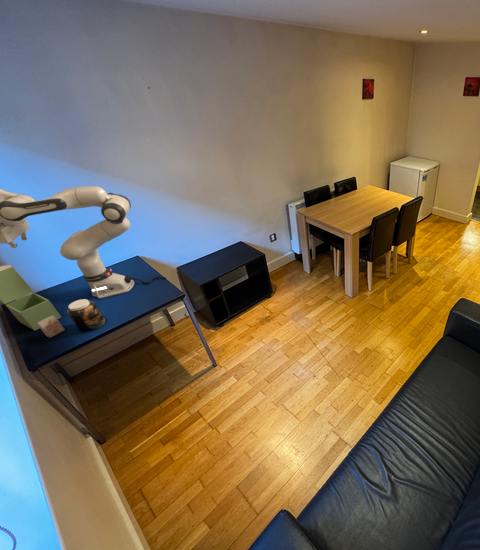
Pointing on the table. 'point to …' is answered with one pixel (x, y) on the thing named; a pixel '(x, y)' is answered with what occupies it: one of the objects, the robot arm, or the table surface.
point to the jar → (85, 315)
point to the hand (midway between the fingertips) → (20, 243)
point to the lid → (12, 286)
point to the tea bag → (50, 326)
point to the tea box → (32, 310)
